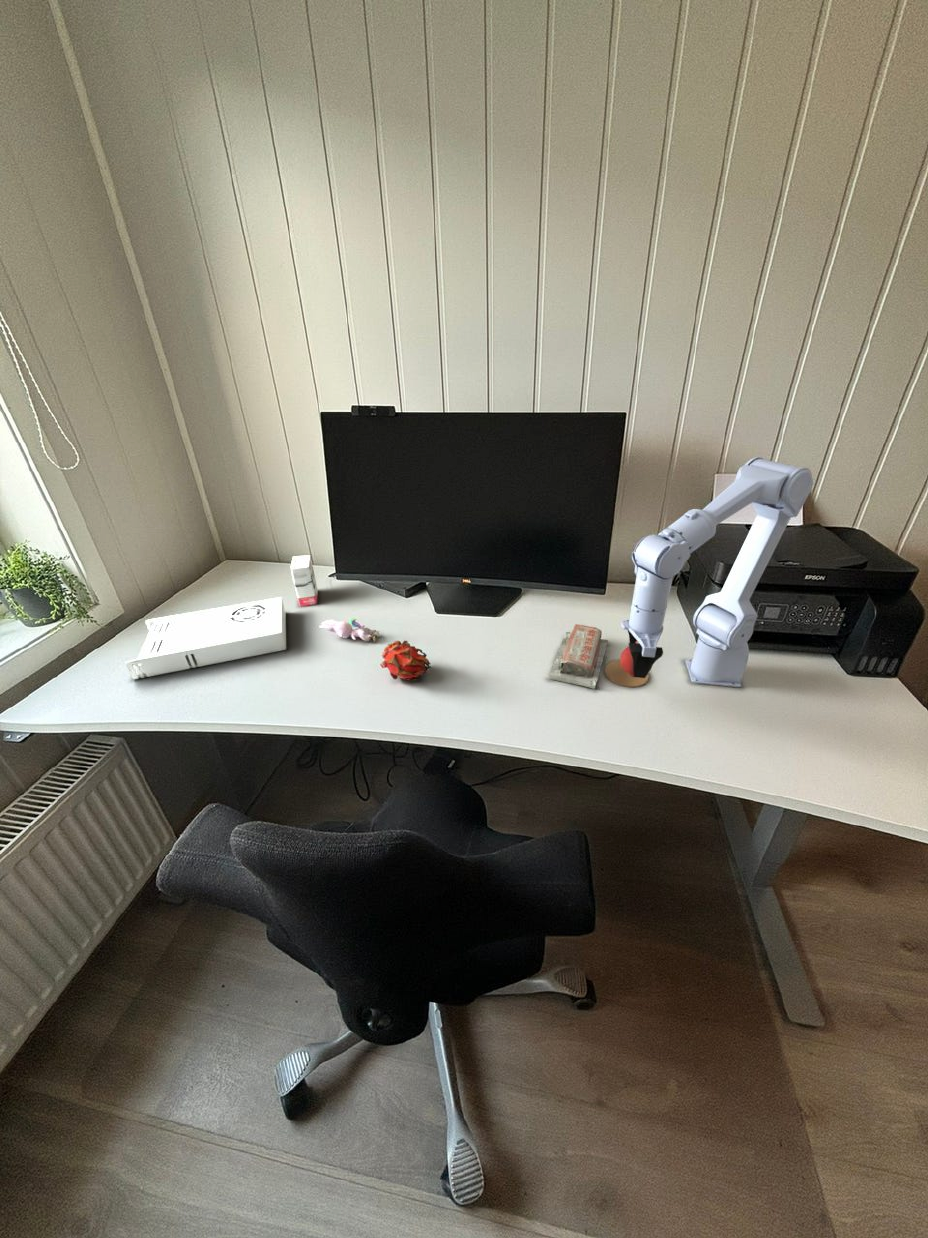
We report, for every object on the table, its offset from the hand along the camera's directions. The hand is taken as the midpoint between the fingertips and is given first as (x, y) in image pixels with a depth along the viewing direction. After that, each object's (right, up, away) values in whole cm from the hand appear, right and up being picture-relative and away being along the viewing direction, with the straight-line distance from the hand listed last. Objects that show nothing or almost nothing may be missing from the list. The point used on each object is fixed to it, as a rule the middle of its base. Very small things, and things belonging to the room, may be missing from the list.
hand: (637, 666), depth 91 cm
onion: (0, -2, +1) cm, 3 cm away
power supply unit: (-94, +3, +29) cm, 99 cm away
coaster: (+2, -3, +13) cm, 13 cm away
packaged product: (-7, -1, +17) cm, 19 cm away
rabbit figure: (-61, +4, +29) cm, 68 cm away
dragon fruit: (-45, -4, +15) cm, 48 cm away
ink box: (-77, +15, +47) cm, 92 cm away
